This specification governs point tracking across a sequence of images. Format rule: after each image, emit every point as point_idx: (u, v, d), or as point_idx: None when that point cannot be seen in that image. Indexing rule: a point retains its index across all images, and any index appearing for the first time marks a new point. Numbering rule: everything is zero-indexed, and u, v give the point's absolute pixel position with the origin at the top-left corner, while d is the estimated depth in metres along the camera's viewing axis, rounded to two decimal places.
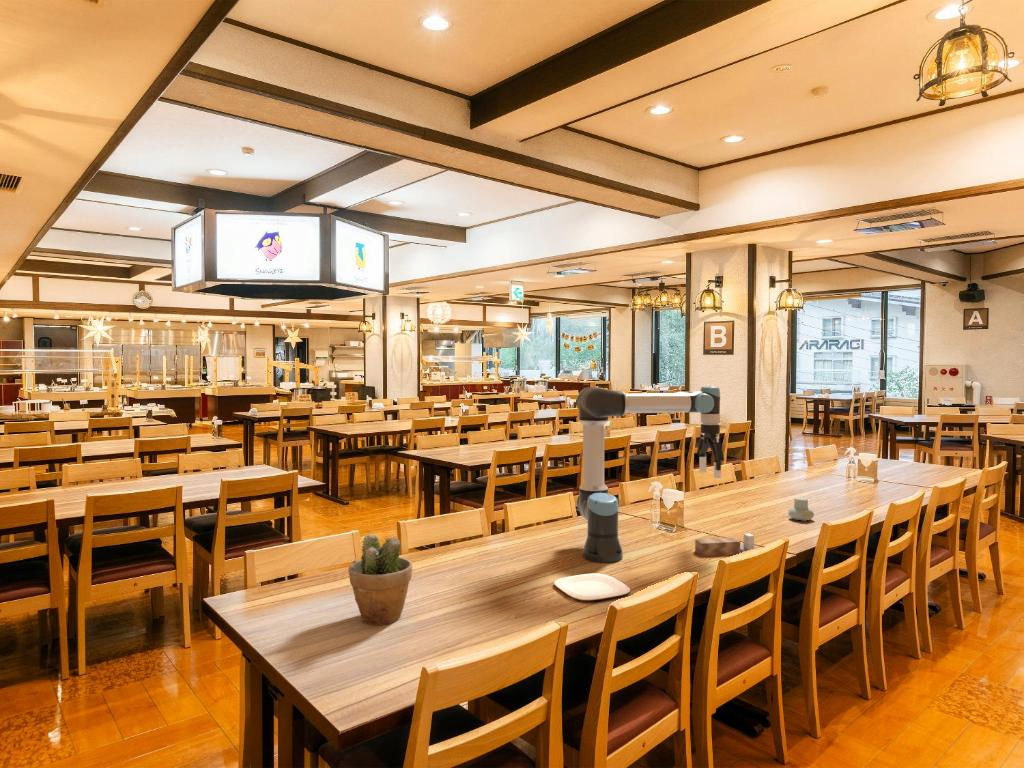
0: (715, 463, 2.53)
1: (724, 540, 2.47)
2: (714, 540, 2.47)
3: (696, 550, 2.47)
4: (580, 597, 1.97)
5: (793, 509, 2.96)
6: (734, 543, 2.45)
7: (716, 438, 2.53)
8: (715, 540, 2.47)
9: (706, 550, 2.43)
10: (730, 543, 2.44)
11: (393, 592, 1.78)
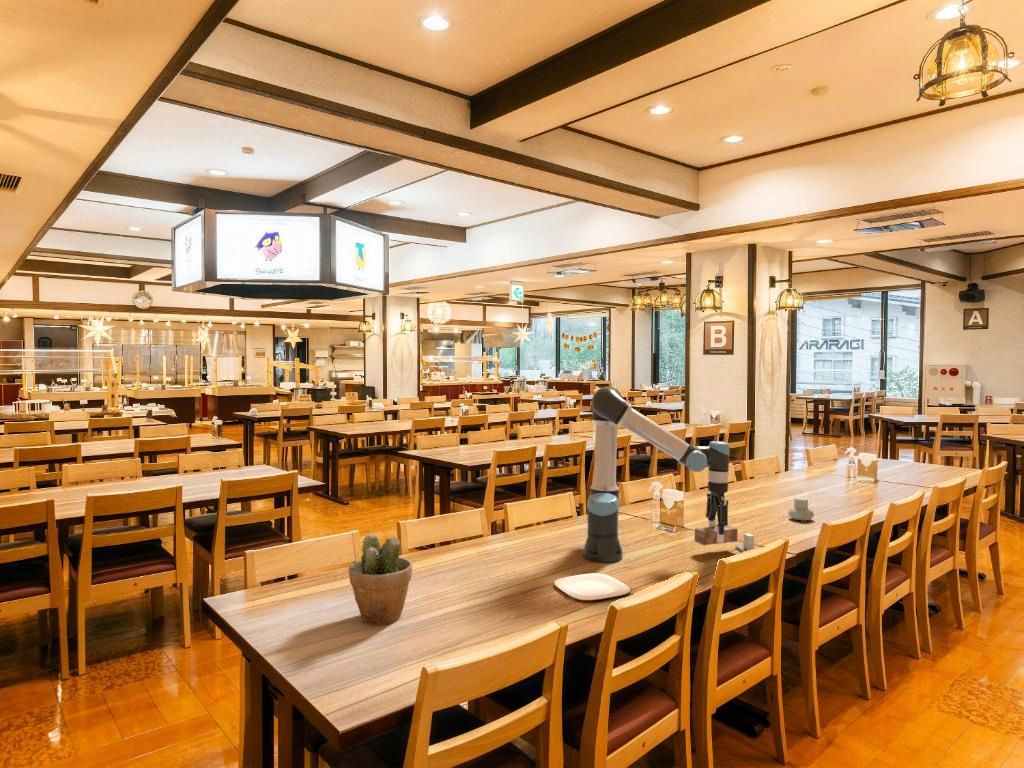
0: (718, 527, 2.42)
1: None
2: (713, 528, 2.46)
3: (696, 539, 2.45)
4: (580, 597, 1.97)
5: (793, 509, 2.96)
6: (732, 530, 2.46)
7: (724, 502, 2.39)
8: (714, 528, 2.46)
9: (708, 539, 2.42)
10: (729, 531, 2.45)
11: (393, 592, 1.78)
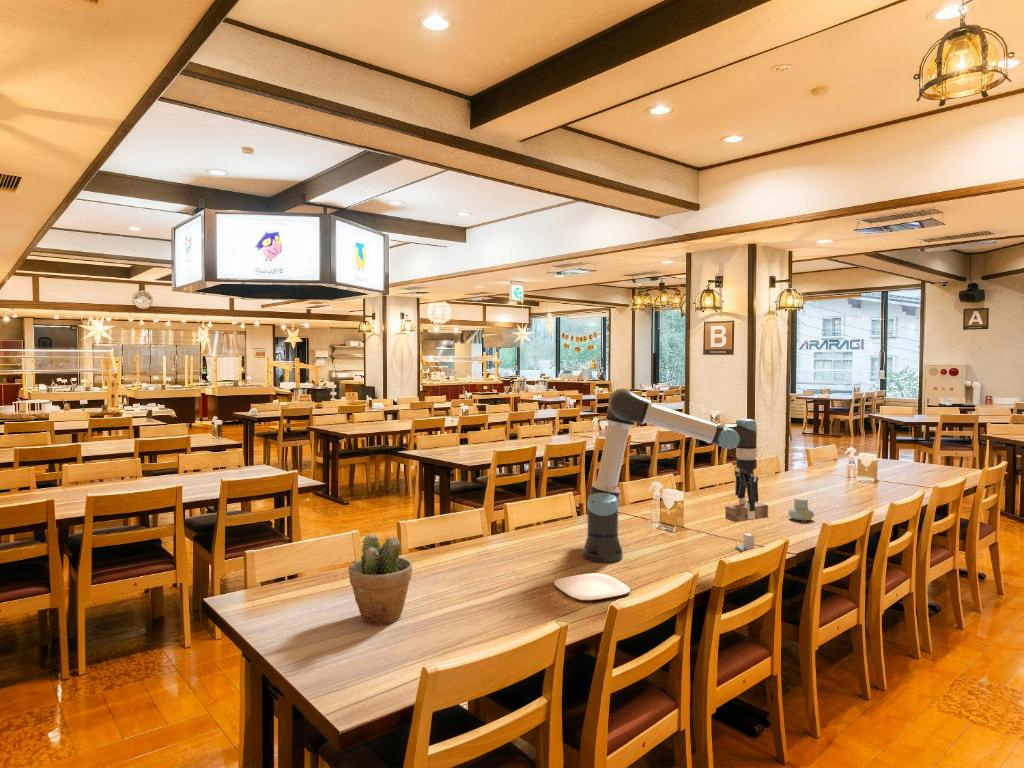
0: (749, 504, 2.43)
1: None
2: (743, 505, 2.47)
3: (727, 517, 2.46)
4: (580, 597, 1.97)
5: (793, 509, 2.96)
6: (763, 507, 2.47)
7: (754, 478, 2.40)
8: (744, 505, 2.47)
9: (739, 515, 2.43)
10: (759, 507, 2.46)
11: (393, 592, 1.78)
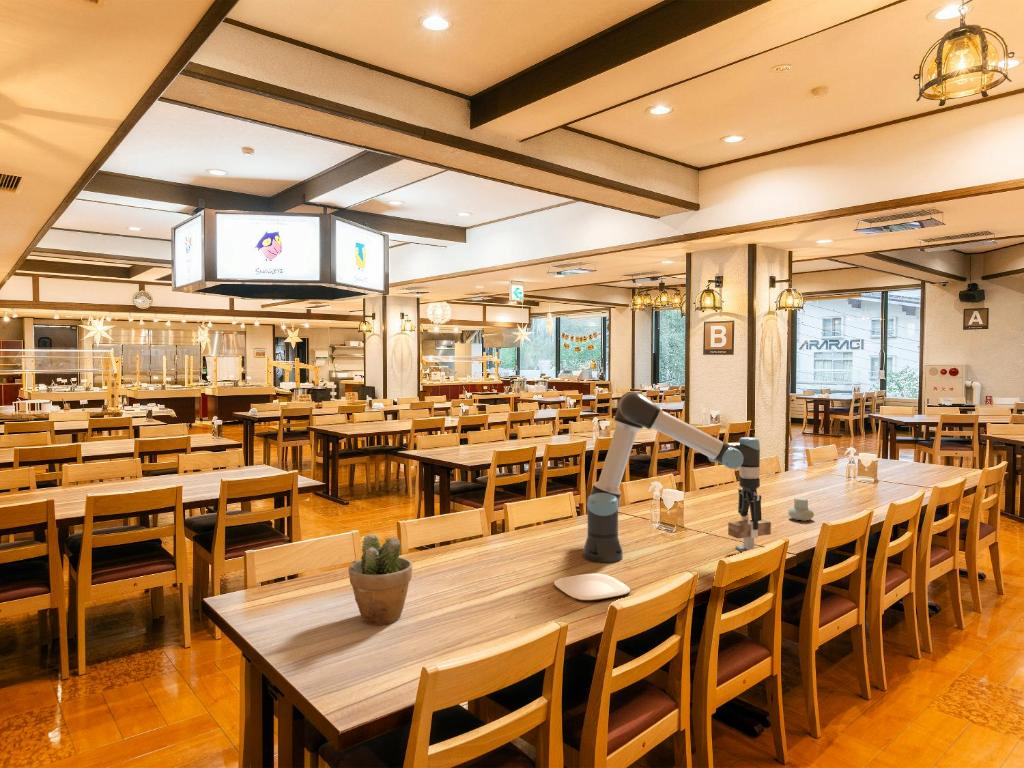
0: (752, 522, 2.44)
1: None
2: (746, 522, 2.48)
3: (730, 533, 2.47)
4: (580, 597, 1.97)
5: (793, 509, 2.96)
6: (766, 524, 2.47)
7: (757, 497, 2.41)
8: (747, 522, 2.48)
9: (741, 532, 2.43)
10: (762, 524, 2.47)
11: (393, 592, 1.78)
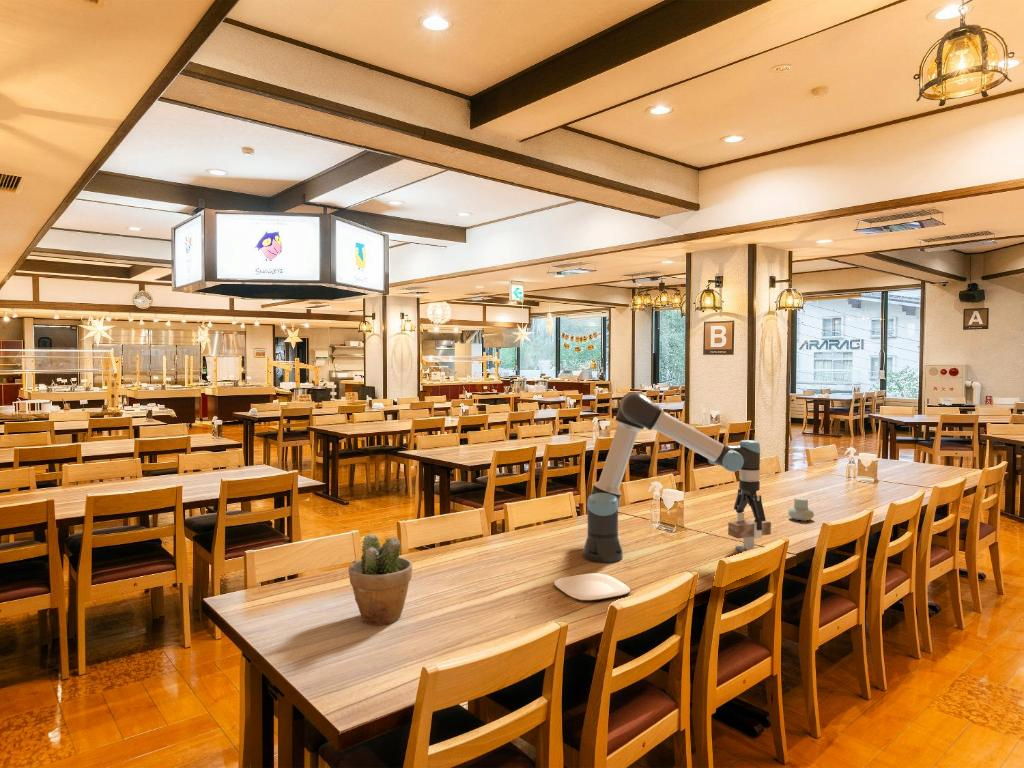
0: (756, 523, 2.41)
1: None
2: (746, 522, 2.48)
3: (730, 533, 2.47)
4: (580, 597, 1.97)
5: (793, 509, 2.96)
6: (766, 524, 2.47)
7: (757, 496, 2.41)
8: (747, 522, 2.48)
9: (741, 532, 2.43)
10: (762, 524, 2.47)
11: (393, 592, 1.78)
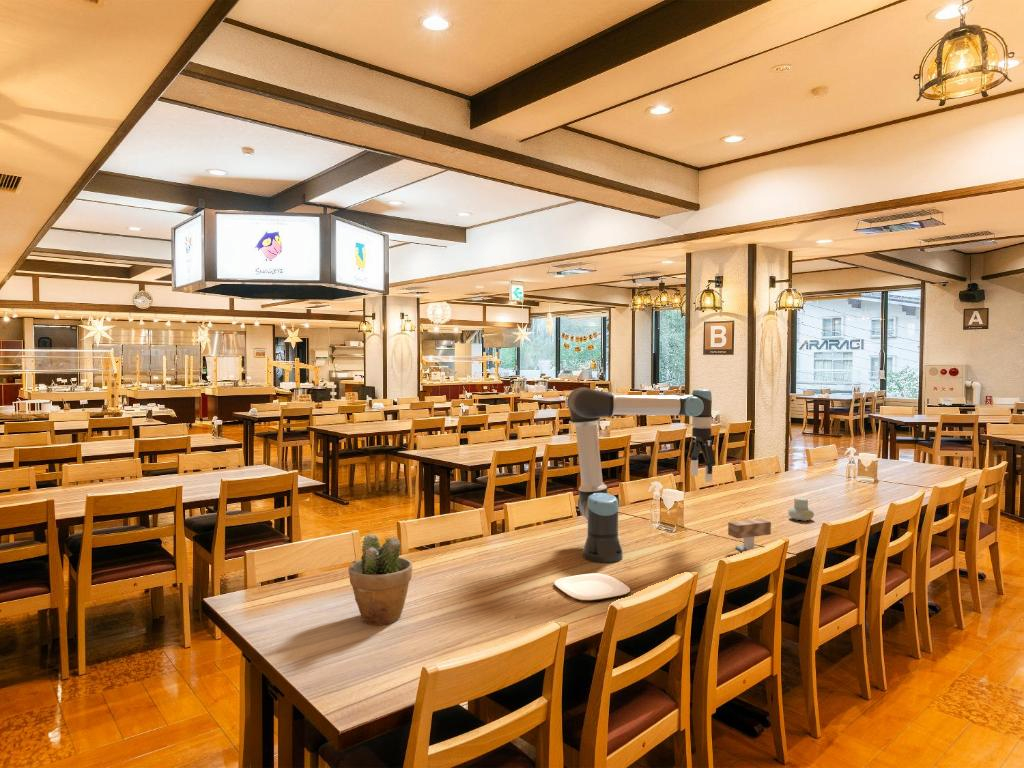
0: (706, 467, 2.51)
1: (755, 521, 2.49)
2: (746, 522, 2.48)
3: (730, 533, 2.47)
4: (580, 597, 1.97)
5: (793, 509, 2.96)
6: (766, 524, 2.47)
7: (707, 441, 2.51)
8: (747, 522, 2.48)
9: (741, 532, 2.43)
10: (762, 524, 2.47)
11: (393, 592, 1.78)
